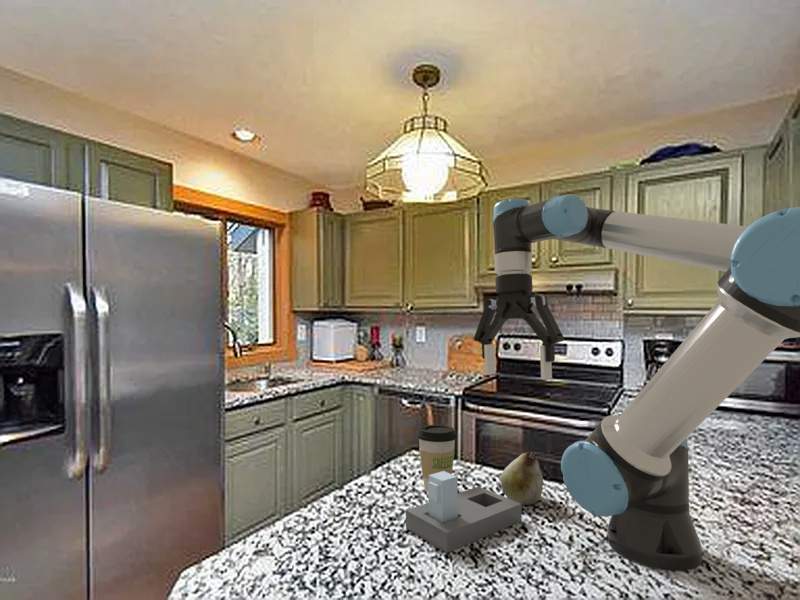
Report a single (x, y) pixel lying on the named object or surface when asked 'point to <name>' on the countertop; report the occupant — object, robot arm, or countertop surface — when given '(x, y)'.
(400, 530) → the countertop surface
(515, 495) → the fruit
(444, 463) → the coffee cup
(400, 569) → the countertop surface
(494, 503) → the socket panel
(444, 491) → the plug
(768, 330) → the robot arm
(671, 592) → the countertop surface
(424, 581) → the countertop surface
